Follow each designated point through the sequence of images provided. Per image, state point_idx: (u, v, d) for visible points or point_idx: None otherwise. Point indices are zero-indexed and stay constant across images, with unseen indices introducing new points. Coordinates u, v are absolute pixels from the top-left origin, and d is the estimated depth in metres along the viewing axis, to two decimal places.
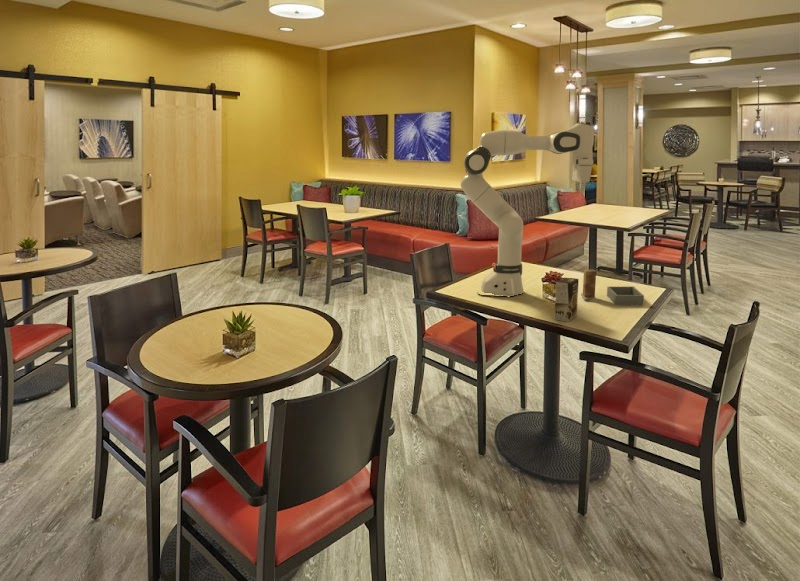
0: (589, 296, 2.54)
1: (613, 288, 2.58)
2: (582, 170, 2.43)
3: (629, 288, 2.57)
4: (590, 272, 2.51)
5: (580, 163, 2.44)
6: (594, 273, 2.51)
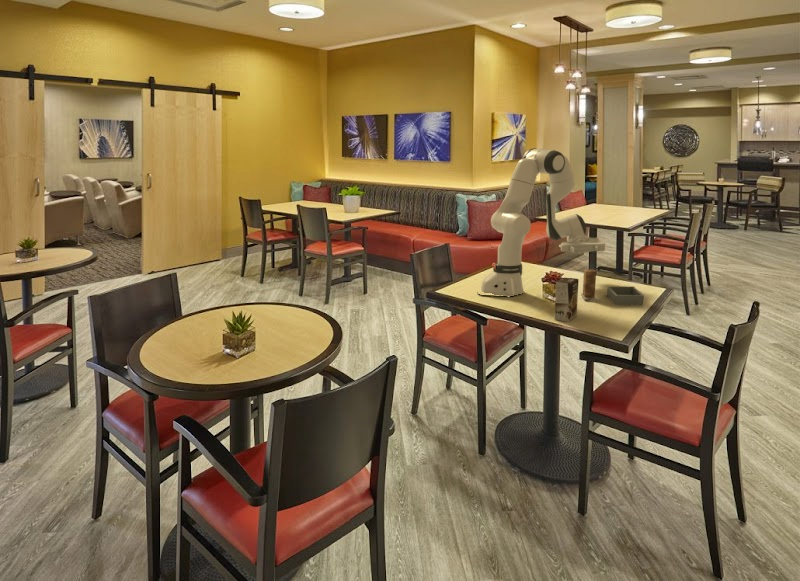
0: (589, 296, 2.54)
1: (613, 288, 2.58)
2: None
3: (629, 288, 2.57)
4: (590, 272, 2.51)
5: (598, 239, 2.73)
6: (594, 273, 2.51)
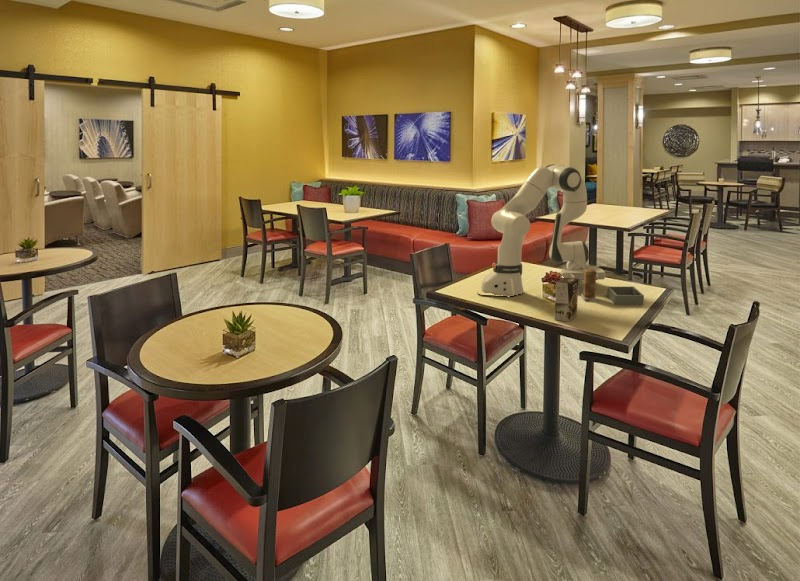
0: (589, 296, 2.54)
1: (613, 288, 2.58)
2: None
3: (629, 288, 2.57)
4: (590, 272, 2.51)
5: (598, 267, 2.72)
6: (594, 273, 2.51)
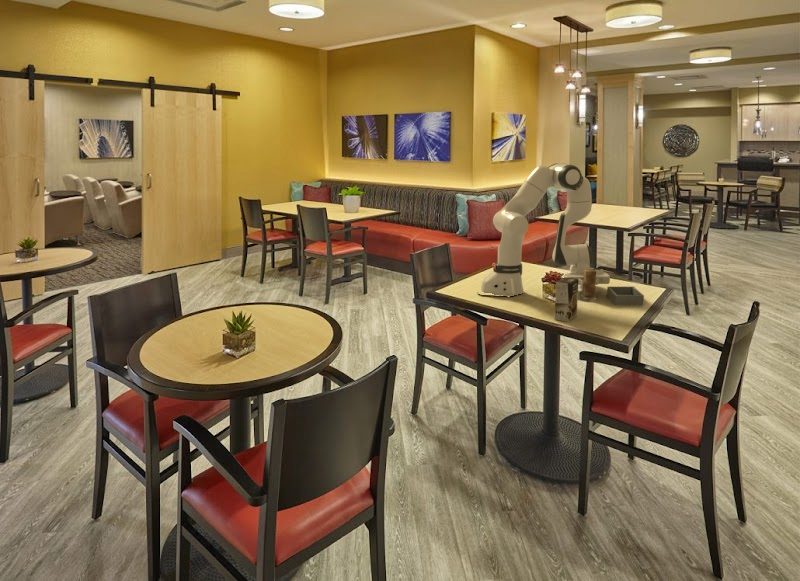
0: (589, 296, 2.54)
1: (613, 288, 2.58)
2: None
3: (629, 288, 2.57)
4: (590, 272, 2.51)
5: None
6: (594, 273, 2.51)
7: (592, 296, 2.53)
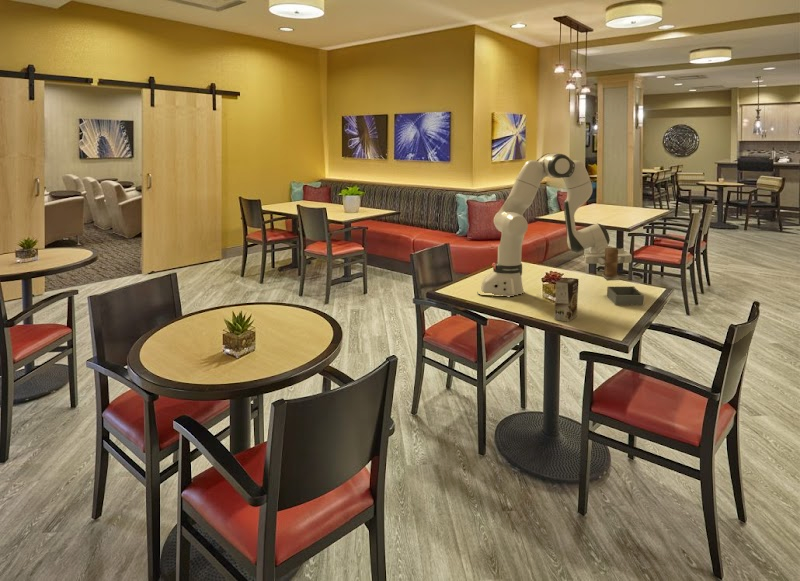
0: (611, 275, 2.49)
1: (613, 288, 2.58)
2: None
3: (629, 288, 2.57)
4: (612, 250, 2.46)
5: None
6: (616, 251, 2.46)
7: (614, 275, 2.49)
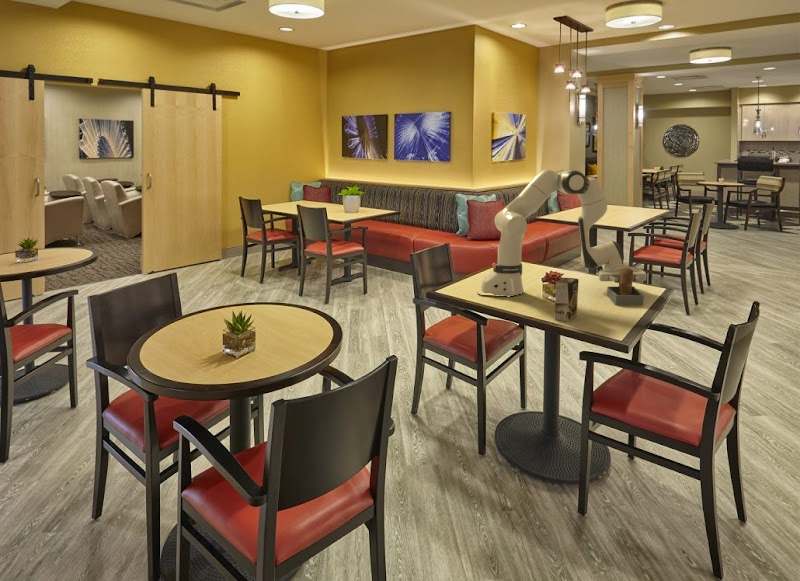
0: None
1: (613, 288, 2.58)
2: None
3: None
4: (627, 271, 2.46)
5: None
6: (631, 272, 2.46)
7: None
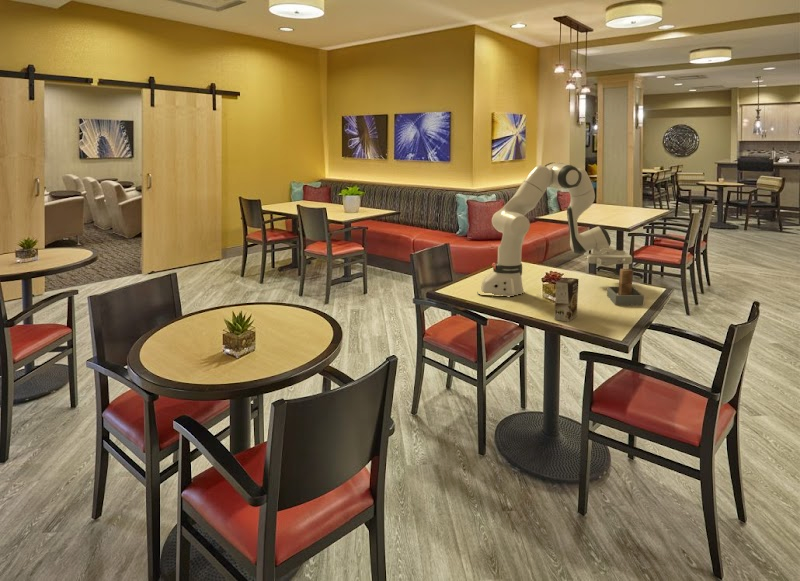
0: None
1: (613, 288, 2.58)
2: None
3: None
4: (627, 271, 2.46)
5: None
6: (631, 272, 2.46)
7: None
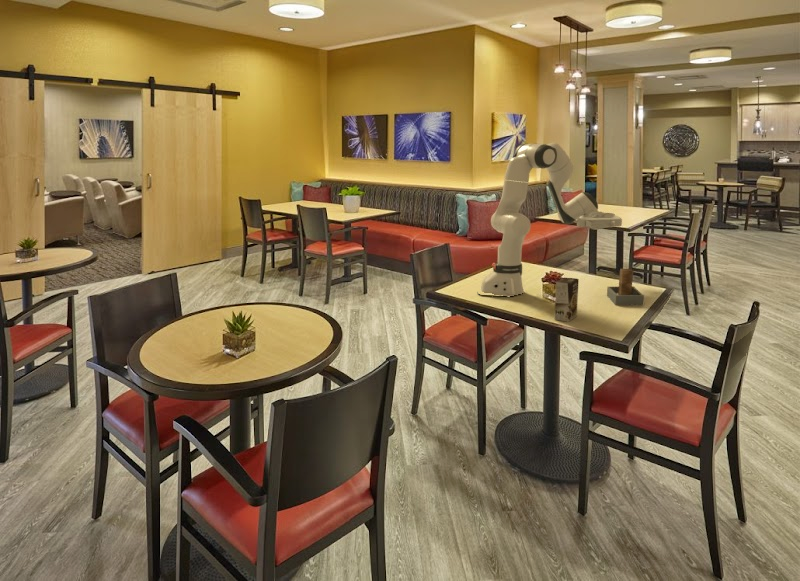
0: None
1: (613, 288, 2.58)
2: None
3: None
4: (627, 271, 2.46)
5: (614, 215, 2.69)
6: (631, 272, 2.46)
7: None
